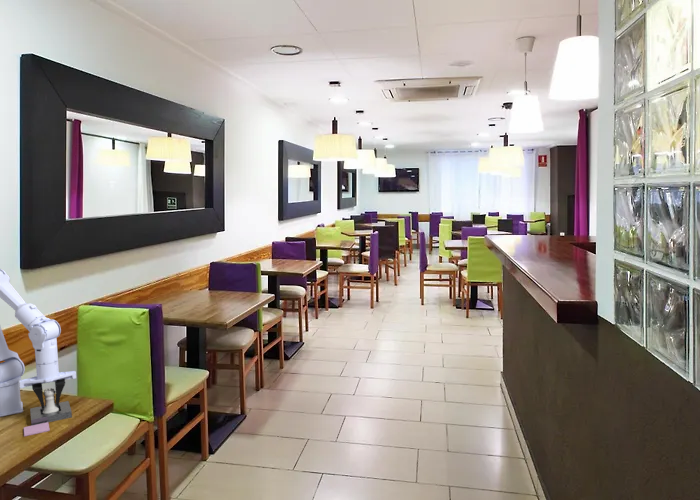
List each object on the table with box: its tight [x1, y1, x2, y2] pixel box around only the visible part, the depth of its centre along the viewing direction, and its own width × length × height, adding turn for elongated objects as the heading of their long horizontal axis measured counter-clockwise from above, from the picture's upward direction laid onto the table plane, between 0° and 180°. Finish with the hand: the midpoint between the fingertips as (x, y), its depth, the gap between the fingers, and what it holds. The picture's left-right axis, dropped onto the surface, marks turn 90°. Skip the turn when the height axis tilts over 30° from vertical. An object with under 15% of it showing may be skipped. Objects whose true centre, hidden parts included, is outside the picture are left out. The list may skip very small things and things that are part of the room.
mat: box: [23, 422, 50, 437], centre depth 144 cm, size 6×6×1 cm
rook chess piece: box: [43, 387, 59, 414], centre depth 153 cm, size 4×4×8 cm
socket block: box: [29, 400, 73, 426], centre depth 153 cm, size 10×10×2 cm
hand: (50, 406), depth 153 cm, fingers closed on rook chess piece, 3 cm apart
